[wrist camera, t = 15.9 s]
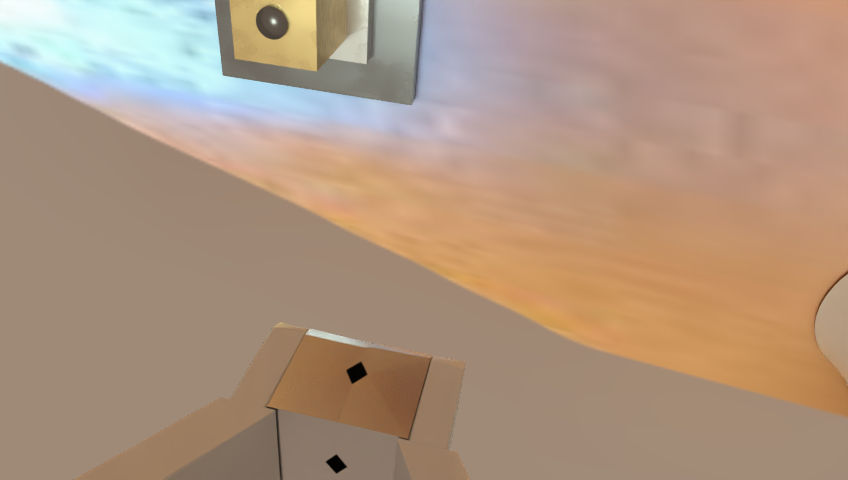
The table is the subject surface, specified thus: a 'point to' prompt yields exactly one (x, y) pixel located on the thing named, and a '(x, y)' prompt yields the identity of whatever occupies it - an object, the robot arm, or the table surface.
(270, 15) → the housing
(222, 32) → the press
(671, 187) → the table surface
